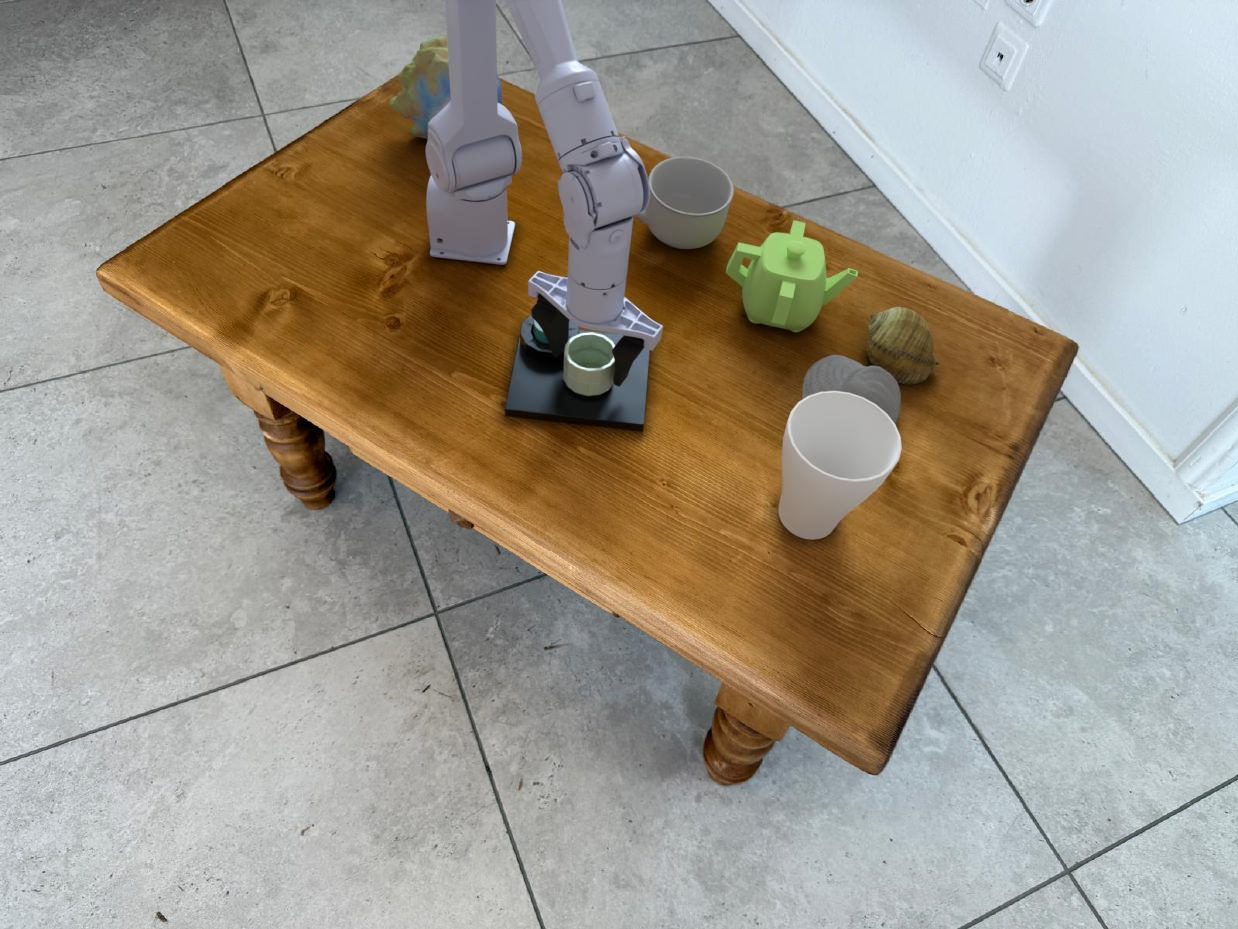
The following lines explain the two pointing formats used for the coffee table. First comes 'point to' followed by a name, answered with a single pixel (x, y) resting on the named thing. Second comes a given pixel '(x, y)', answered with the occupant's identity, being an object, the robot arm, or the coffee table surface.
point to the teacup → (687, 202)
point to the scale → (550, 399)
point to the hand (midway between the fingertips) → (589, 365)
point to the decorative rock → (426, 85)
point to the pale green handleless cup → (589, 364)
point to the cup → (833, 460)
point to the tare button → (539, 333)
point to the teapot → (786, 279)
